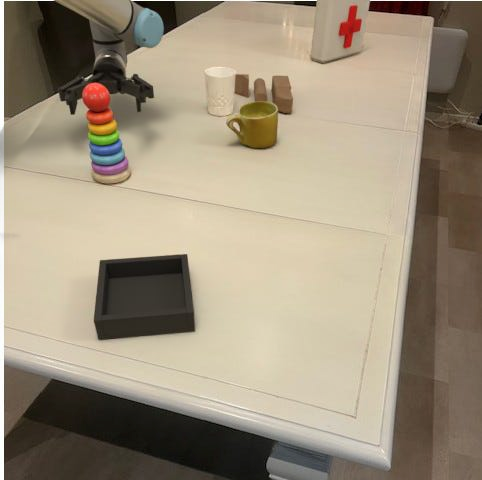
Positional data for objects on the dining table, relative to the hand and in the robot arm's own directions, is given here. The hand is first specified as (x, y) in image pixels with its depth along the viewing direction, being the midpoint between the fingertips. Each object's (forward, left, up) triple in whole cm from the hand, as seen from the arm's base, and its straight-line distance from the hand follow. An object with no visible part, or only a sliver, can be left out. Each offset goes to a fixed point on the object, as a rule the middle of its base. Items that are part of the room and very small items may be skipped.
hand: (105, 106), depth 100 cm
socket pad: (+7, -49, -11) cm, 51 cm away
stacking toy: (0, -8, -11) cm, 14 cm away
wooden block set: (+39, +31, -11) cm, 50 cm away
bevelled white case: (+73, +70, -11) cm, 101 cm away
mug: (+32, +5, -11) cm, 34 cm away
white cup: (+27, +25, -11) cm, 38 cm away
